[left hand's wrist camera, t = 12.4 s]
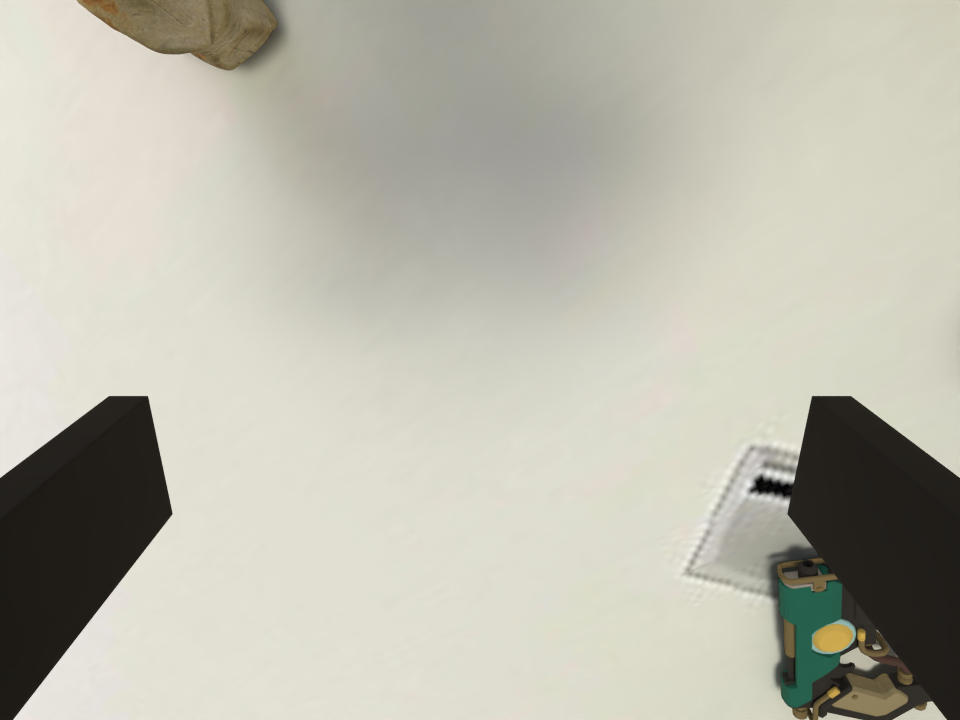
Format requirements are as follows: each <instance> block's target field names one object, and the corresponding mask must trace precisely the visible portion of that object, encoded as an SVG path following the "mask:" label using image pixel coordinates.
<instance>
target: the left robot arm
mask: <svg viewBox="0 0 960 720" xmlns="http://www.w3.org/2000/svg"><path fill="white" fill-rule="evenodd" d="M171 515H172V509H171V504H170V499H169V495H168V490H167V485H166V480H165V476H164V471H163V466H162V461H161V456H160V452H159V447H158V442H157V437H156V433H155V428H154V423H153V418H152V413H151V409H150V404H149V399H148V396H109V397H107V398H106V399H105V400H103V401H102V402H101V403H99V404H98V405H97V406H95V407H94V408H93V409H91V410H90V411H89V412H87V413H86V414H85V415H83V416H82V417H81V418H79V419H78V420H77V421H75V422H74V423H73V424H71V425H70V426H69V427H67V428H66V429H65V430H63V431H62V432H61V433H59V434H58V435H57V436H55V437H54V438H53V439H52V440H50V441H49V442H48V443H46V444H45V445H44V446H42V447H41V448H40V449H38V450H37V451H36V452H34V453H33V454H32V455H30V456H29V457H28V458H26V459H25V460H24V461H22V462H21V463H20V464H18V465H17V466H16V467H14V468H13V469H12V470H10V471H9V472H8V473H6V474H5V475H4V476H2V477H1V478H0V720H13V719H14V718H15V717H16V715H17V714H18V713H19V711H20V710H21V709H22V707H23V706H24V705H25V704H26V702H27V701H28V700H29V698H30V697H31V696H32V695H33V693H34V692H35V691H36V689H37V688H38V687H39V686H40V684H41V683H42V682H43V680H44V679H45V678H46V677H47V675H48V674H49V673H50V671H51V670H52V669H53V668H54V666H55V665H56V664H57V662H58V661H59V660H60V658H61V657H62V656H63V655H64V653H65V652H66V651H67V649H68V648H69V647H70V646H71V644H72V643H73V642H74V640H75V639H76V638H77V637H78V635H79V634H80V633H81V631H82V630H83V629H84V628H85V626H86V625H87V624H88V622H89V621H90V620H91V619H92V617H93V616H94V615H95V613H96V612H97V611H98V609H99V608H100V607H101V606H102V604H103V603H104V602H105V600H106V599H107V598H108V597H109V595H110V594H111V593H112V591H113V590H114V589H115V588H116V586H117V585H118V584H119V582H120V581H121V580H122V579H123V577H124V576H125V575H126V573H127V572H128V571H129V570H130V568H131V567H132V566H133V564H134V563H135V562H136V560H137V559H138V558H139V557H140V555H141V554H142V553H143V551H144V550H145V549H146V548H147V546H148V545H149V544H150V542H151V541H152V540H153V539H154V537H155V536H156V535H157V533H158V532H159V531H160V530H161V528H162V527H163V526H164V524H165V523H166V522H167V521H168V519H169V518H170V517H171ZM788 515H789V517H790V518H791V519H792V521H793V522H794V523H795V524H796V526H797V527H798V528H799V530H800V531H801V532H802V533H803V535H804V536H805V537H806V539H807V540H808V541H809V542H810V544H811V545H812V546H813V548H814V549H815V550H816V551H817V553H818V554H819V555H820V557H821V558H822V559H823V560H824V562H825V563H826V564H827V566H828V567H829V568H830V570H831V571H832V572H833V573H834V575H835V576H836V577H837V579H838V580H839V581H840V582H841V584H842V585H843V586H844V588H845V589H846V590H847V591H848V593H849V594H850V595H851V597H852V598H853V599H854V600H855V602H856V603H857V604H858V606H859V607H860V608H861V609H862V611H863V612H864V613H865V615H866V616H867V617H868V619H869V620H870V621H871V622H872V624H873V625H874V626H875V628H876V629H877V630H878V631H879V633H880V634H881V635H882V637H883V638H884V639H885V640H886V642H887V643H888V644H889V646H890V647H891V648H892V649H893V651H894V652H895V653H896V655H897V656H898V657H899V658H900V660H901V661H902V662H903V664H904V665H905V666H906V668H907V669H908V670H909V671H910V673H911V674H912V675H913V677H914V678H915V679H916V680H917V682H918V683H919V684H920V686H921V687H922V688H923V689H924V691H925V692H926V693H927V695H928V696H929V697H930V698H931V700H932V701H933V702H934V704H935V705H936V706H937V707H938V709H939V710H940V711H941V713H942V714H943V715H944V717H945V718H946V719H947V720H960V478H959V477H958V476H956V475H955V474H954V473H952V472H951V471H950V470H948V469H947V468H946V467H944V466H943V465H942V464H940V463H939V462H938V461H936V460H935V459H934V458H932V457H931V456H930V455H928V454H927V453H926V452H924V451H923V450H922V449H920V448H919V447H918V446H916V445H915V444H914V443H912V442H911V441H910V440H908V439H907V438H906V437H905V436H903V435H902V434H901V433H899V432H898V431H897V430H895V429H894V428H893V427H891V426H890V425H889V424H887V423H886V422H885V421H883V420H882V419H881V418H879V417H878V416H877V415H875V414H874V413H873V412H871V411H870V410H869V409H867V408H866V407H865V406H863V405H862V404H861V403H859V402H858V401H857V400H855V399H854V398H853V397H851V396H812V399H811V404H810V409H809V413H808V418H807V423H806V428H805V433H804V437H803V442H802V447H801V452H800V456H799V461H798V466H797V471H796V476H795V480H794V485H793V490H792V495H791V499H790V504H789V509H788Z"/></svg>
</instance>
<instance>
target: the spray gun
mask: <svg viewBox="0 0 960 720" xmlns="http://www.w3.org/2000/svg"><path fill="white" fill-rule="evenodd" d="M821 563H825V562H824V560H823V559H822V558H814V559H805V560H798V561H790V562H783V563H780V564H779V565H778V566H777V573H778V575H779V580H778V582H779V612H780V614H781V616H782V617H783V618H784V649H785V654H786V655H787V656H788V669H787V670H785V671H783V672H782V673H781V695H782V698H783V700H784V701H785V703H786V704H787V705H788V706H789V707H791V708H792V709H793V715H794V716H795V717H796V718H798V719H806V718H807V715H808V717H809V719H810V720H818V716H819V717H822V718H823V717H825V716H826V715H827V712H828V713H833V714H838V715H843V716H847V717H852V718H857V719H862V720H893V719H894V718H896V717H898V716H900V715H901V714H903V713H905V712H907V711H909V710H910V709H912V708H915V709H917V710H925V709H926V705H927V702H929V701H932V700H931V698H930V697H929V696H928V695H927V693H926V692H925V691H924V689H923V688H922V687H921V686H920V684H919V683H918V682H917V680H916V679H915V678H914V677H913V675H912V674H911V673H910V671H909V670H908V669H907V668H906V666H905V665H904V664H903V662H902V661H901V660H900V658H898V657H893V656H888V655H886V654H888V652H889V647H888V645H887V643H886V641H885V640H884V638H883V637H882V636H881V635H880V634H879V632H877V629H876V628H875V626H874V625H873V624H872V622H871V621H870V620H869V619H868V617H867V616H866V615H865V613H864V612H863V611H862V609H861V608H860V607H859V606H858V604H857V603H856V602H855V600H854V599H853V598H852V597H851V595H850V594H849V593H848V591H847V590H846V589H845V588H844V586H843V585H842V584H841V582H840V581H839V580H838V579H837V577H836V576H835V575H834V573H833V572H832V571H831V570H830V569H828V568H827V567H825V566H823V565H818V566H817V565H816V564H821ZM791 567H798V571H792V572H785V573H783V572H782V569H784V568H791ZM876 640H877V641H878V642H879V644H880V646H881V647H882V648H881V649H878V650H874V649H873V647H872V644H875V643H876ZM857 647H858V648H859V650H860V651H861V652H862V653H863V654H865V655H867V656H869V657H870V658H872V659H873V660H875V661H878V662H880V663H883V664H887V665H892V666H897V673H889V674H886V673H885V674H881V675H879V676H878V677H877V678H875V679H873V680H872V679H869V678H865V677H862V676H858V675H855V674H852V673H849V672H851V671H852V670H853V669H854V668H855V665H854V663H851V662H850V663H848V664H840V656H841V655H843V654H845V653H847V652H849V651H851V650H853V649H855V648H857ZM810 708H813V714H812V712H811V710H810Z"/></svg>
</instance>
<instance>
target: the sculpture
mask: <svg viewBox="0 0 960 720" xmlns="http://www.w3.org/2000/svg"><path fill="white" fill-rule="evenodd" d="M77 1H78V3H79V4H81V5H82V6H83V7H85V8H86V9H87V10H88V11H90V12H91V13H92V14H93V15H95V16H96V17H98V18H99V19H101V20H102V21H103V22H105V23H106V24H107V25H109V26H110V27H111V28H113V29H115V30H117V31H119V32H121V33H123V34H125V35H127V36H128V37H130V38H131V39H133V40H135V41H137V42H139V43H140V44H142V45H144V46H145V47H147V48H149V49H151V50H153V51H155V52H159V53H162V54H185V53H191V54H193V55H194V56H196V57H197V58H199V59H201V60H203V61H204V62H207V63H209V64H211V65H213V66H215V67H218V68H221V69H225V70H233V69H235V68H236V67H238V66H239V65H241V64H242V63H243V62H245V61H246V60H247V59H248V58H249V57H250V56H251V55H253V54H254V53H255V52H256V51H257V50H258V49H259V48H260V47H261V46H262V45H263V43H264V42H265V41H266V40H267V38H268V37H269V35H270V34H271V32H272V31H273V30H274V29H275V28H276V26H277V20H276V19H275V17H274V16H273V14H272V12H271V11H270V9H269V8H267V6H266V5H265V3H264V2H263V0H77Z"/></svg>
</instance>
